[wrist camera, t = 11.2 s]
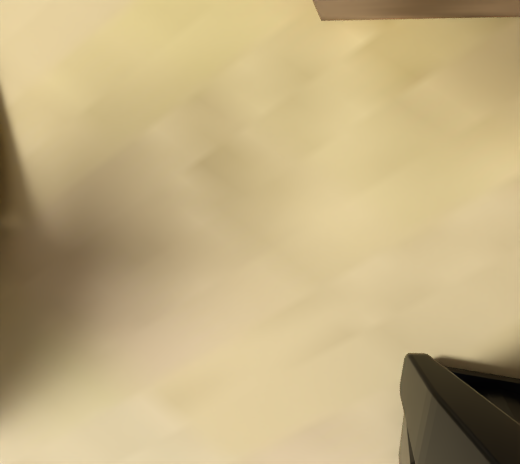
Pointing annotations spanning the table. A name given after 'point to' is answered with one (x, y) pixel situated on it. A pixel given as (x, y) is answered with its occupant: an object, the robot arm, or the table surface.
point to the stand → (414, 9)
